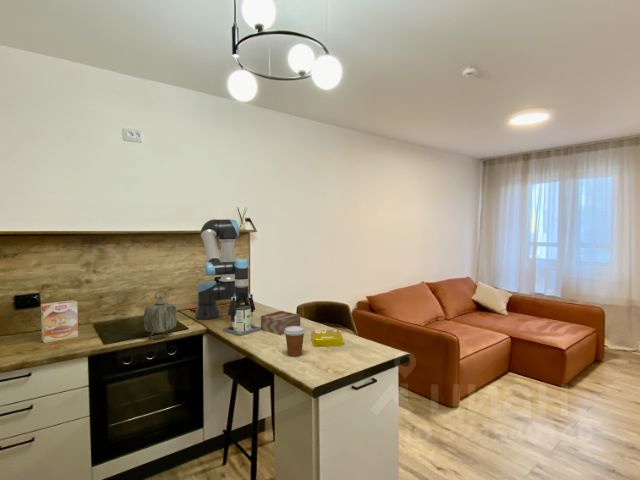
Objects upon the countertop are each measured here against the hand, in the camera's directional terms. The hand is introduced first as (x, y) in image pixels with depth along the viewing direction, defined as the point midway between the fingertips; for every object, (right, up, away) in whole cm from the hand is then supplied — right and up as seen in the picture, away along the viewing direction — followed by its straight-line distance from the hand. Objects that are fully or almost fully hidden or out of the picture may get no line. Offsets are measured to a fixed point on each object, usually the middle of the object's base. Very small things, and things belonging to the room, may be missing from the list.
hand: (242, 325), depth 201 cm
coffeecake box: (-95, -5, -12) cm, 96 cm away
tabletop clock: (-41, -4, -11) cm, 43 cm away
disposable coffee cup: (+33, -4, -38) cm, 51 cm away
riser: (+22, -3, +3) cm, 22 cm away
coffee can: (0, -4, 0) cm, 4 cm away
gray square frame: (0, -3, 0) cm, 3 cm away
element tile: (+48, -4, -21) cm, 52 cm away
